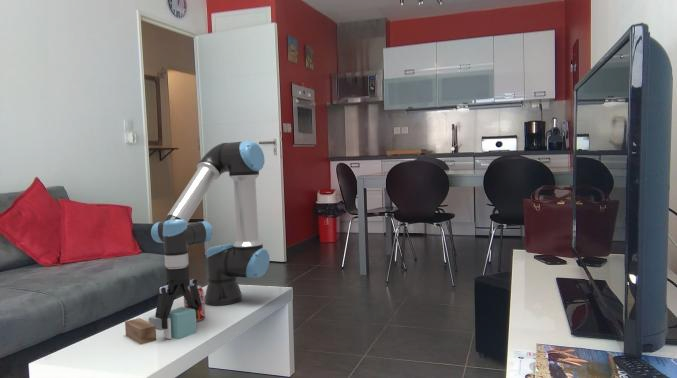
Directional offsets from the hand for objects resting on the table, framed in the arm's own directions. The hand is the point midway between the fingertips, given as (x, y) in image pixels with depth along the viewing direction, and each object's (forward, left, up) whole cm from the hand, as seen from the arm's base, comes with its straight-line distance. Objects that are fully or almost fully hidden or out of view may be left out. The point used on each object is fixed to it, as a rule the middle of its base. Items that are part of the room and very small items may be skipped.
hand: (180, 333), depth 169 cm
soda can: (-13, -9, 0) cm, 16 cm away
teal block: (0, 0, 0) cm, 0 cm away
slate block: (-2, -13, 0) cm, 13 cm away
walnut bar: (+9, -9, -1) cm, 13 cm away
